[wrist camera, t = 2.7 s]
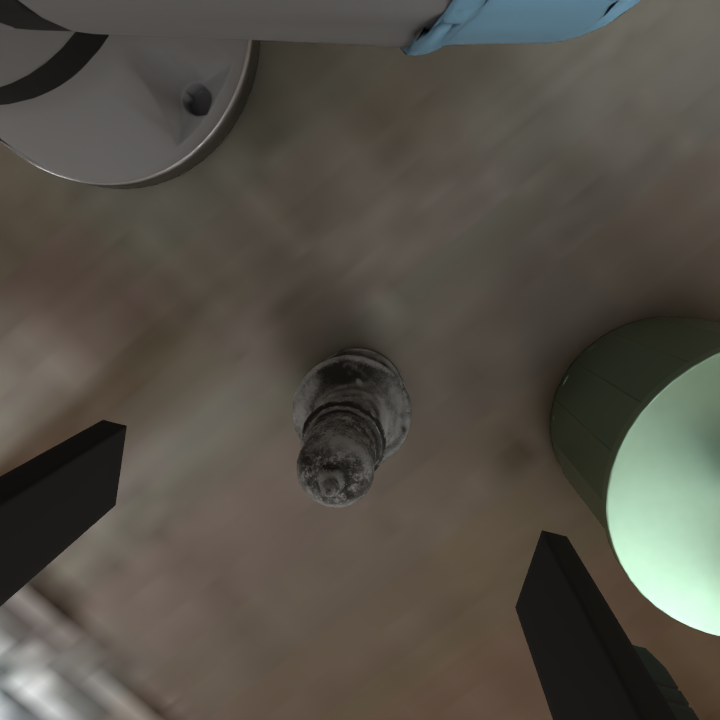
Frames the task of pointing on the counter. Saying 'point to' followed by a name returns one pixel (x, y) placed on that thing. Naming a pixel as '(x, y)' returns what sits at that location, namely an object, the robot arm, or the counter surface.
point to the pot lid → (671, 495)
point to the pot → (617, 392)
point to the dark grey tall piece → (348, 424)
